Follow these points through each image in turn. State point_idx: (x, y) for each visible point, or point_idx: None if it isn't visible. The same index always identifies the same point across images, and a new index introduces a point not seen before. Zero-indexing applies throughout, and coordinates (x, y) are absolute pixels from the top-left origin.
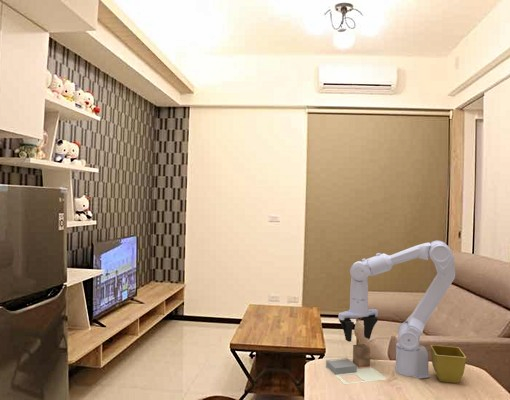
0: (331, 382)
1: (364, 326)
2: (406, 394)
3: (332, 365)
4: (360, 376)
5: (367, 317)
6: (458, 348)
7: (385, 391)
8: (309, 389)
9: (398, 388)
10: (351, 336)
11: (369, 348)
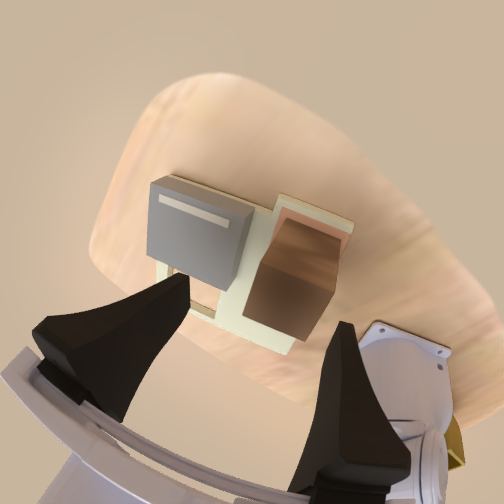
0: (145, 250)
1: (339, 381)
2: (272, 387)
3: (147, 233)
4: (224, 300)
5: (304, 485)
6: (457, 466)
7: (240, 359)
8: (92, 242)
9: (282, 372)
10: (171, 334)
11: (300, 339)
